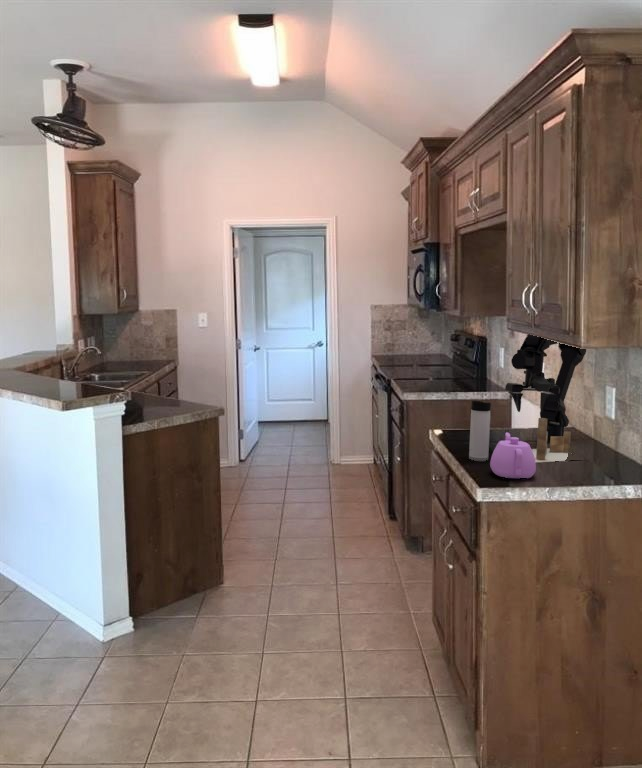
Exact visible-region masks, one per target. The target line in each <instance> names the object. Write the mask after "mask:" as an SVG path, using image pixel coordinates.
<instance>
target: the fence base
mask: <svg viewBox="0 0 642 768" xmlns="http://www.w3.org/2000/svg"><path fill="white" fill-rule="evenodd" d="M571 435H572V433H571V431H567V430H564V434H563V436H551V437H550V442H549V448H550V452H564V453H571V452H570V451H571V450H570V449H571ZM546 437H547V438H548V432H547V433H546ZM547 448H548V446H547V447H546V452H547Z"/></svg>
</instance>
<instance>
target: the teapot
mask: <svg viewBox="0 0 642 768" xmlns="http://www.w3.org/2000/svg"><path fill="white" fill-rule="evenodd" d="M531 449H532V448H531V445H530V444H529V443H527V442H525V441H522V440H520V438H519V437H515V436H512V437H511V433H509V432H505V439H504V440H499V441H498V443H497V444H496V446H495V448H494V450H493V452H492V453H491V458H490V462H489V465H490V466H489V467H490V469H491V470H492V471H491V472H492V473H494V474H495V475H496V476H498V477H505V478H508V479H520V478H527V479H530V478H532V477H533V476H534V474H536V471H537V463H536V462H535V457H534V454H533V452H532V450H531Z"/></svg>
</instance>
